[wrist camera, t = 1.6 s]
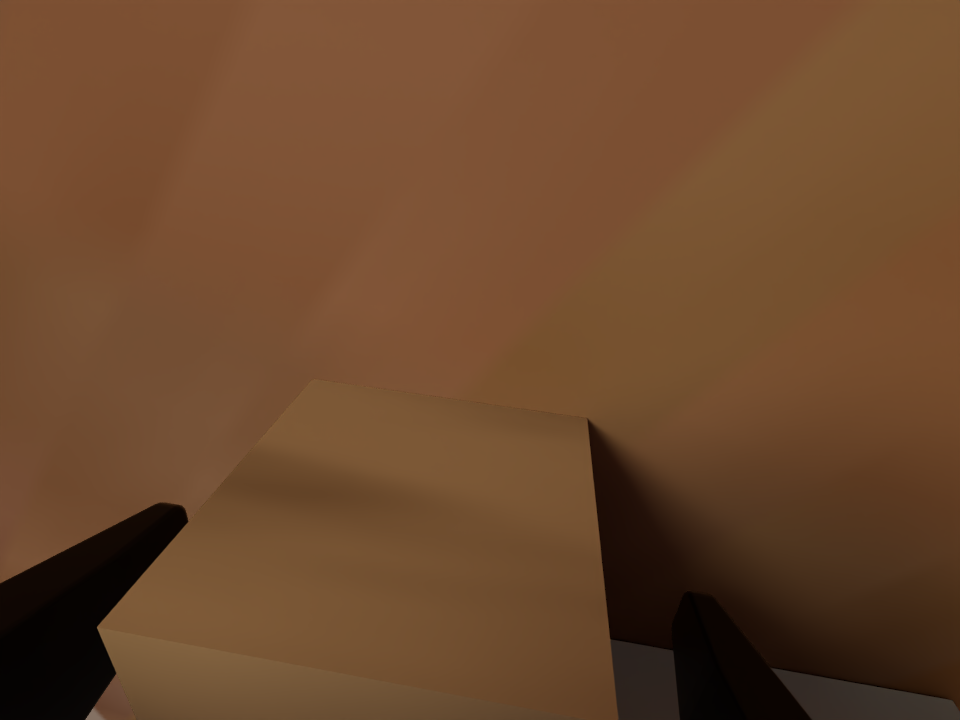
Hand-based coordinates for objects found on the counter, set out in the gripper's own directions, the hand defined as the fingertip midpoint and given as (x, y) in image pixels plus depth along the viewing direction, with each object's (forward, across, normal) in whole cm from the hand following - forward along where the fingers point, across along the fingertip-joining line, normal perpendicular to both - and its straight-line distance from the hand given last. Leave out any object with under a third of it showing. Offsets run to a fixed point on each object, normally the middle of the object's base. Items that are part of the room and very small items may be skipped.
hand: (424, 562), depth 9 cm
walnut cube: (+2, 0, 0) cm, 2 cm away
